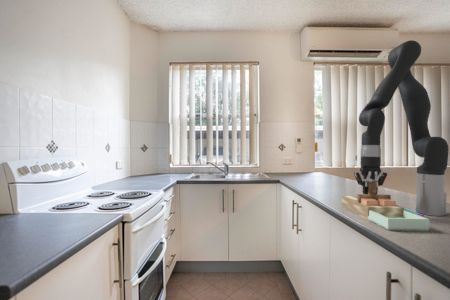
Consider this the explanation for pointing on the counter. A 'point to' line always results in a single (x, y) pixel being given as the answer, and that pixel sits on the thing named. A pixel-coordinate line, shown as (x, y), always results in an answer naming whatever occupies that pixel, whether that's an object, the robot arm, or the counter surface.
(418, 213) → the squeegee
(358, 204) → the wooden board
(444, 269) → the counter surface
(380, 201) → the tile
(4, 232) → the counter surface
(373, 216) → the box
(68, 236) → the counter surface
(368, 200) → the tile
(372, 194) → the wooden t-shaped block
